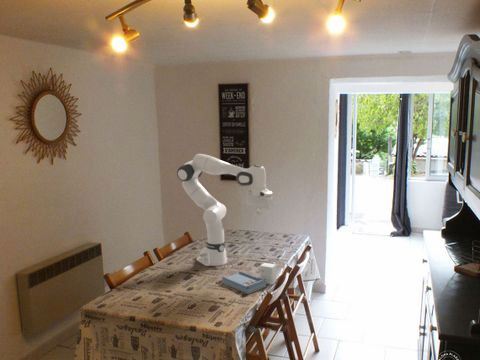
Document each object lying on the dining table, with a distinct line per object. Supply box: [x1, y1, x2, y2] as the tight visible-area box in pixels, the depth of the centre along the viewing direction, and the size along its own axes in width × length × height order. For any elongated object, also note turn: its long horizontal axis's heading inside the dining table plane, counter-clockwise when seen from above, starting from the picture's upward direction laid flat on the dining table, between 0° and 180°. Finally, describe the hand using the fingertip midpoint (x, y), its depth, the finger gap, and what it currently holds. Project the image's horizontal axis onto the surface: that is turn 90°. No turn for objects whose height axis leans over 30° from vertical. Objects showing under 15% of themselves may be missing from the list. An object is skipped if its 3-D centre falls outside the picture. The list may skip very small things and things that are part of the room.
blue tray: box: [221, 270, 267, 294], centre depth 243 cm, size 22×14×4 cm, turn 42°
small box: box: [259, 262, 278, 286], centre depth 246 cm, size 8×6×10 cm
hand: (259, 213), depth 258 cm, fingers closed
